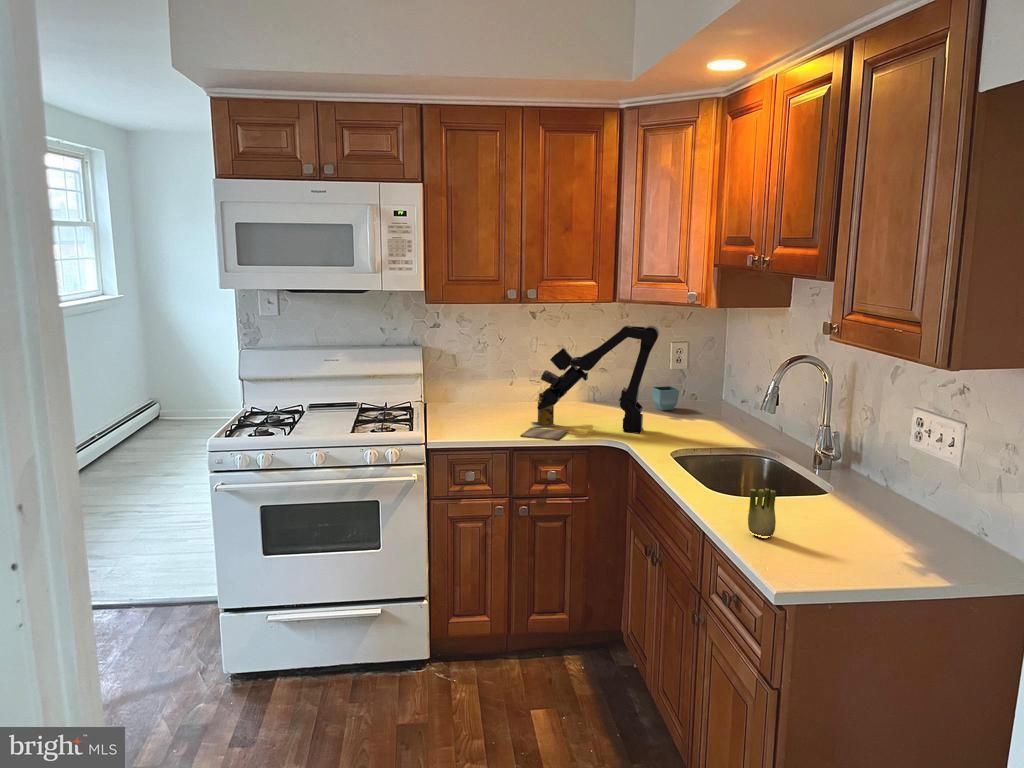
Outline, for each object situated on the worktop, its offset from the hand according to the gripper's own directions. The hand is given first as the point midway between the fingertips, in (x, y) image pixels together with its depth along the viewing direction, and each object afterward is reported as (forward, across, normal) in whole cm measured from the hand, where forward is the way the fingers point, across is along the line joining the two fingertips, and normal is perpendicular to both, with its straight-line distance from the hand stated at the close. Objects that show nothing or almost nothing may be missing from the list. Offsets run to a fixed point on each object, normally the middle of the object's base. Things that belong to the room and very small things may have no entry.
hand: (539, 407), depth 294 cm
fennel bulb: (-48, +95, +59) cm, 122 cm away
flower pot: (-26, -40, +36) cm, 60 cm away
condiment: (+4, 0, +6) cm, 7 cm away
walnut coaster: (+1, +14, +8) cm, 17 cm away
